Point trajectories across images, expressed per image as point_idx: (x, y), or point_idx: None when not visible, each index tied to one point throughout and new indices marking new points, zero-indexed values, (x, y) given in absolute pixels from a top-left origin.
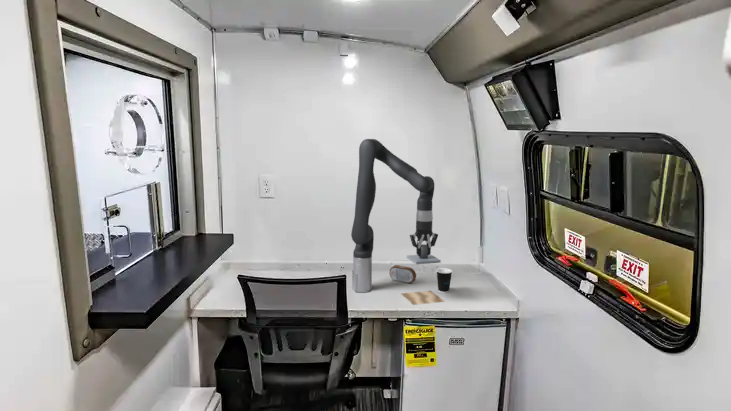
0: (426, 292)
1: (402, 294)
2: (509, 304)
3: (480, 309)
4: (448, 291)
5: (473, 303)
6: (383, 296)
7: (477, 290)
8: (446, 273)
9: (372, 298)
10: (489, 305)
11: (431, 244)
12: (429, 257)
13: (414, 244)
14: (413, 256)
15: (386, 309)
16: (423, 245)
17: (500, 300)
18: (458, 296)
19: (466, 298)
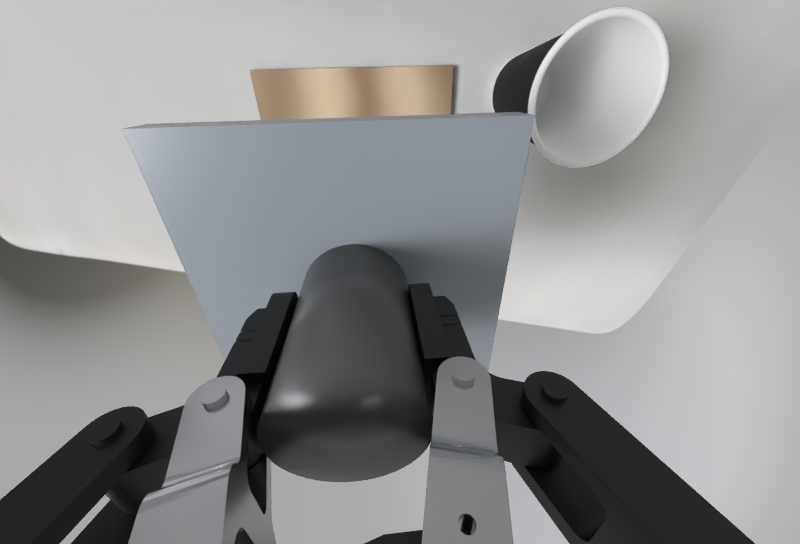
0: (413, 93)
1: (259, 92)
2: (646, 299)
3: (523, 321)
4: (538, 112)
5: (542, 270)
6: (134, 78)
7: (694, 116)
8: (567, 165)
9: (62, 99)
10: (579, 296)
11: (504, 451)
12: (432, 288)
13: (109, 537)
14: (235, 211)
15: (167, 267)
16: (341, 443)
17: (656, 261)
18: (543, 182)
19: (557, 214)
